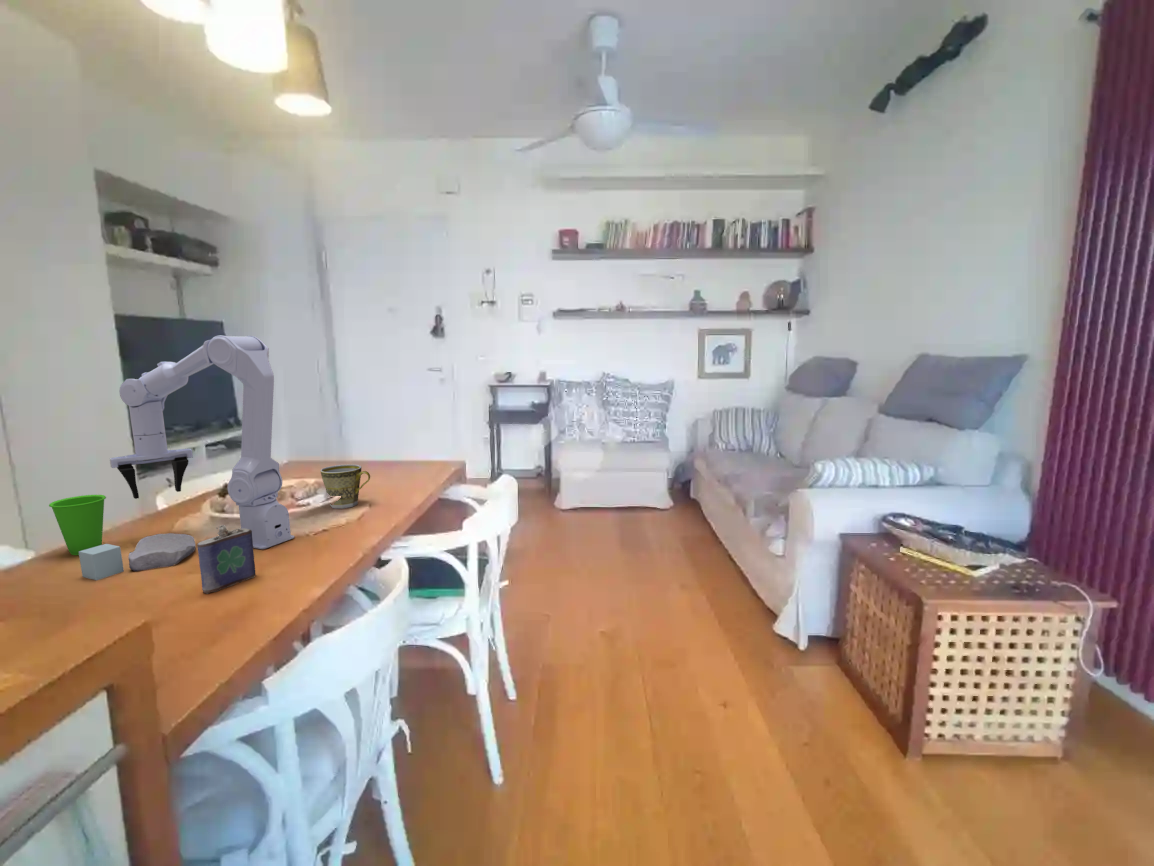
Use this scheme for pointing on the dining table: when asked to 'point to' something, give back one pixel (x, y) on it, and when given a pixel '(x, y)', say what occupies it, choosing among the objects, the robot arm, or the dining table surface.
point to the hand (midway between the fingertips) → (157, 494)
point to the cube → (101, 561)
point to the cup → (80, 521)
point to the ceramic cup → (343, 483)
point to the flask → (226, 559)
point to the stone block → (161, 551)
